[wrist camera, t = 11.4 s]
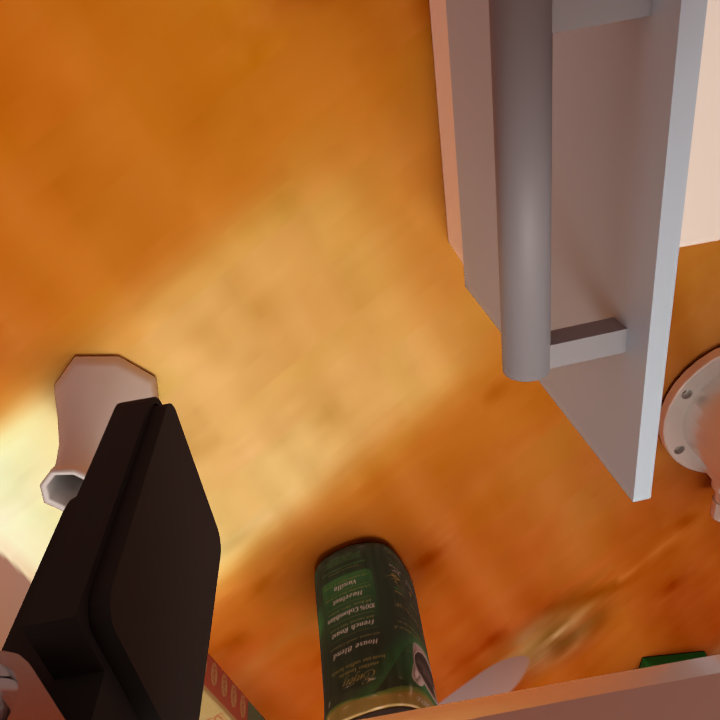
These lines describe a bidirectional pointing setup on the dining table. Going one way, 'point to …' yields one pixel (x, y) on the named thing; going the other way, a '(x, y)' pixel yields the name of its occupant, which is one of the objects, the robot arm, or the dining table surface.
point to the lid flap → (578, 199)
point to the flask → (88, 416)
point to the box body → (708, 147)
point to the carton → (224, 697)
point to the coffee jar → (370, 635)
